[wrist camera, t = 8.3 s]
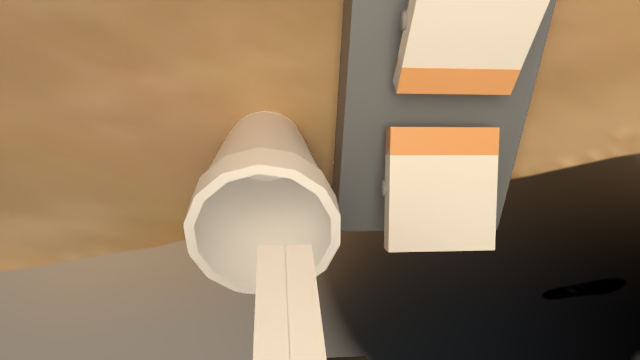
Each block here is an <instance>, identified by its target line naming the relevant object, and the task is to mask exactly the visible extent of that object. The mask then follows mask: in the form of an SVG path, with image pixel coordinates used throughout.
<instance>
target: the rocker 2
mask: <svg viewBox="0 0 640 360" xmlns="http://www.w3.org/2000/svg"><path fill="white" fill-rule="evenodd" d="M499 132H500V127H386V154H385V180H382V181H381V195H382V196H385V218H384V248H385V249H386V250H387V251H388V252H428V251H474V250H475V251H476V250H495V234H496V207H497V179H498V155H499Z"/></svg>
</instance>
